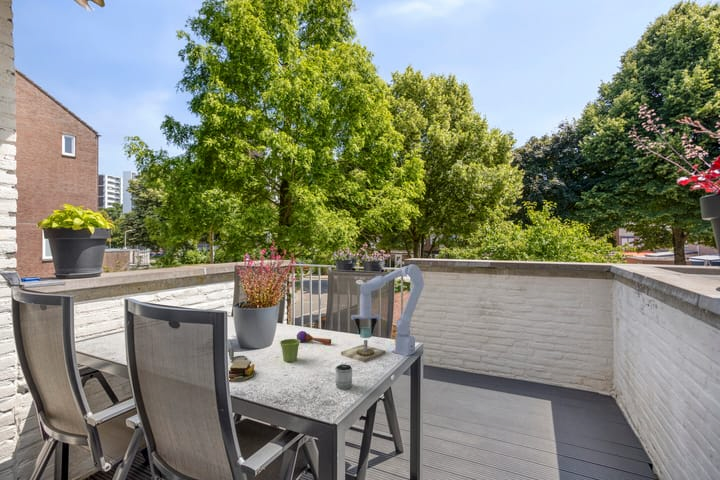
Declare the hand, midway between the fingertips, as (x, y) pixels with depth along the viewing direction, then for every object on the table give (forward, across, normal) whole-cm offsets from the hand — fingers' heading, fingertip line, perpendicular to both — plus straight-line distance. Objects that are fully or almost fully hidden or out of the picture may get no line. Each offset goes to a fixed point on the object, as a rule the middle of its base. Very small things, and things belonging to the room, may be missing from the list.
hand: (365, 333), depth 174 cm
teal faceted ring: (+1, 0, 0) cm, 1 cm away
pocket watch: (+9, +61, +11) cm, 62 cm away
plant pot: (+9, +36, +11) cm, 39 cm away
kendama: (+9, +27, -16) cm, 33 cm away
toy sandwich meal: (+9, +54, +28) cm, 62 cm away
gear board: (+9, +1, +5) cm, 10 cm away
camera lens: (+9, +11, +42) cm, 44 cm away
